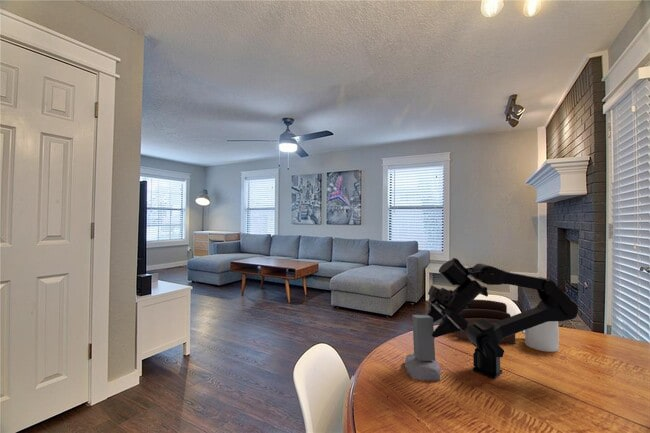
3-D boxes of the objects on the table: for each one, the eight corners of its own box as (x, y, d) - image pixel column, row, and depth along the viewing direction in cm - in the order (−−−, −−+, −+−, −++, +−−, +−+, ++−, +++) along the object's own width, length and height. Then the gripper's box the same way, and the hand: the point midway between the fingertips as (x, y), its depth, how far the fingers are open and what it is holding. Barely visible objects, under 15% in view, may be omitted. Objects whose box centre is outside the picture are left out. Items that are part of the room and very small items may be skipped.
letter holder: (455, 330, 126) (454, 297, 126) (506, 334, 121) (506, 300, 121) (459, 339, 116) (459, 303, 116) (515, 344, 111) (515, 307, 111)
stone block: (409, 386, 85) (444, 382, 84) (405, 369, 86) (440, 365, 84) (405, 368, 97) (435, 364, 95) (401, 353, 97) (432, 349, 96)
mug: (511, 338, 116) (510, 311, 116) (532, 336, 118) (531, 310, 119) (543, 353, 103) (542, 322, 103) (566, 350, 105) (565, 320, 105)
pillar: (429, 355, 93) (427, 314, 95) (435, 360, 88) (433, 318, 90) (414, 355, 93) (412, 314, 95) (418, 360, 88) (416, 318, 90)
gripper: (433, 272, 100) (402, 304, 100) (456, 283, 82) (417, 322, 82) (457, 295, 100) (425, 327, 100) (485, 311, 81) (446, 350, 81)
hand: (427, 330), depth 91 cm, fingers open, 9 cm apart
